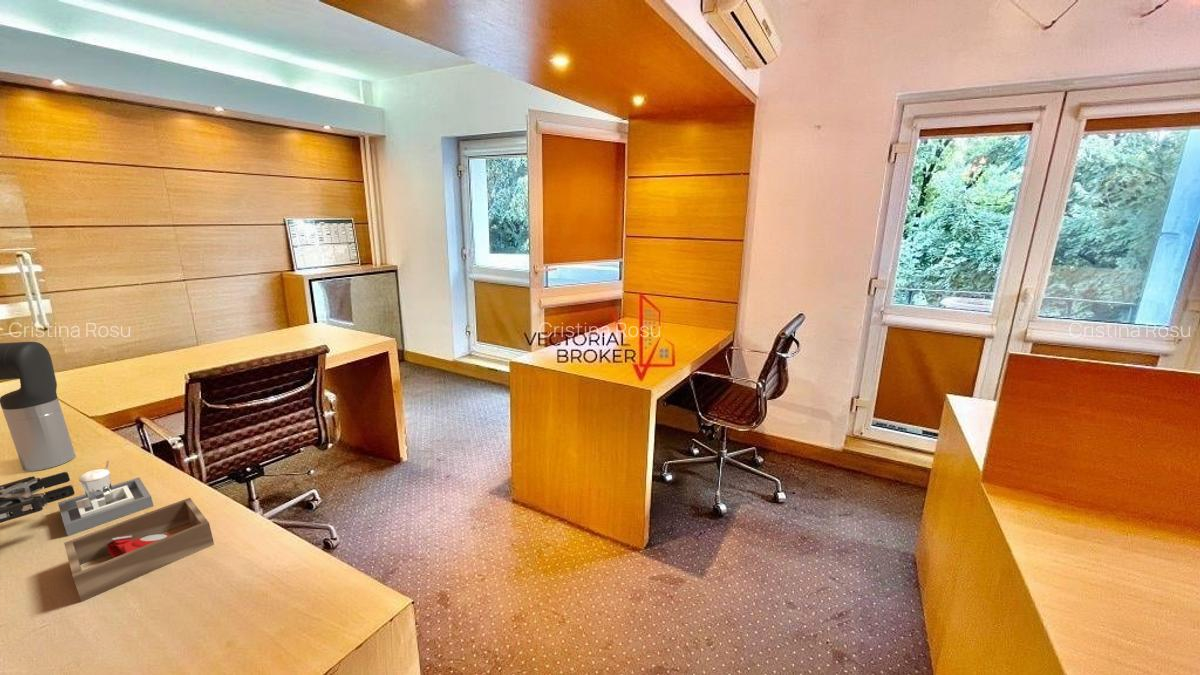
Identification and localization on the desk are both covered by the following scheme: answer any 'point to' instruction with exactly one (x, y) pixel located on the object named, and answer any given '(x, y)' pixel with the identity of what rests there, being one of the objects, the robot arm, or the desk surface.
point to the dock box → (104, 507)
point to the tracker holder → (130, 543)
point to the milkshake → (97, 487)
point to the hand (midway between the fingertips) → (71, 482)
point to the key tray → (143, 557)
